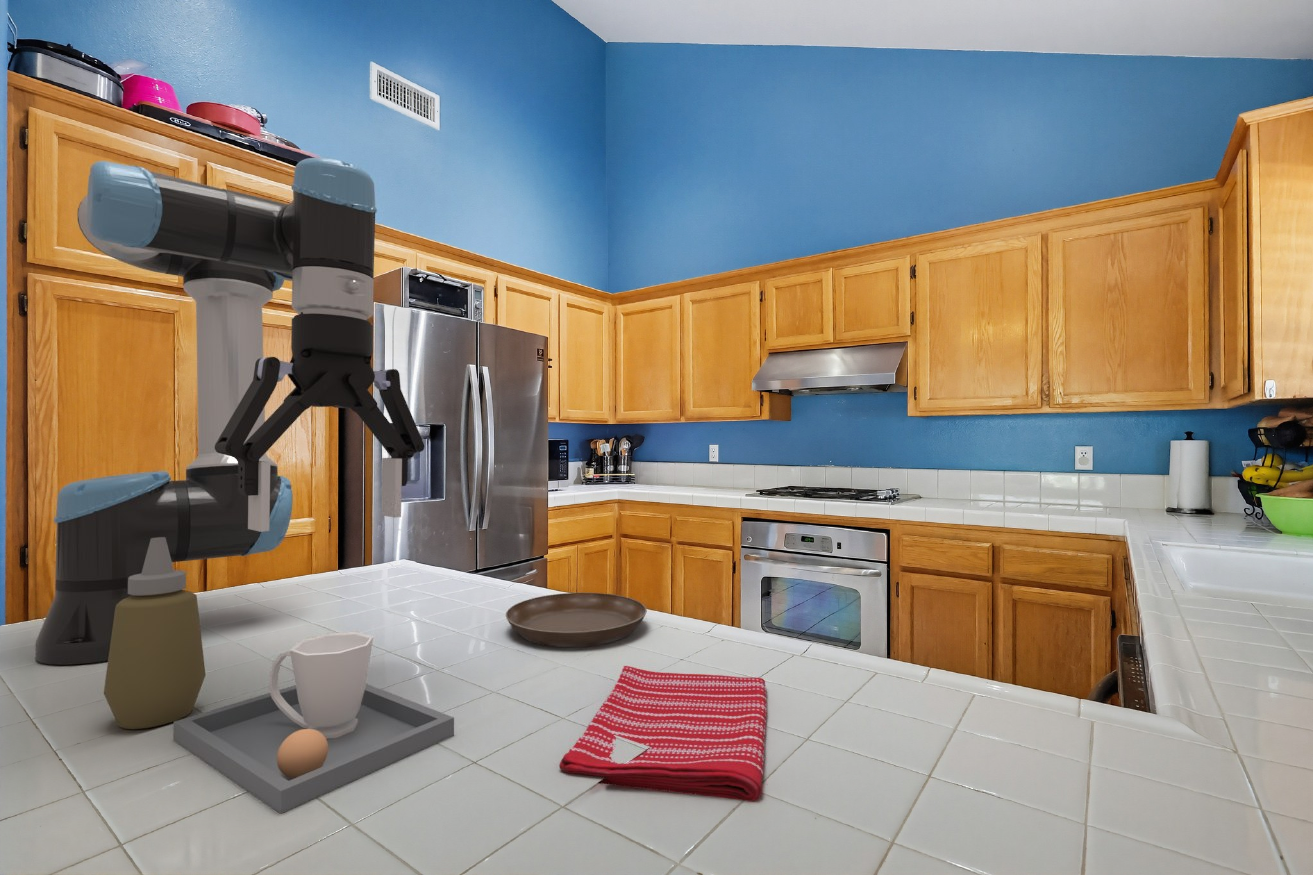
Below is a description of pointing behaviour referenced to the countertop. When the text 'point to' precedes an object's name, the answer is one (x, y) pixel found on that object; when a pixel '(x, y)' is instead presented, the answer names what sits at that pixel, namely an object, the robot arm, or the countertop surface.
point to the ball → (302, 753)
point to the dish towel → (679, 734)
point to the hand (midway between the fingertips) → (330, 522)
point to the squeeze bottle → (155, 646)
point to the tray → (257, 728)
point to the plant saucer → (576, 619)
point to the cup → (326, 681)
